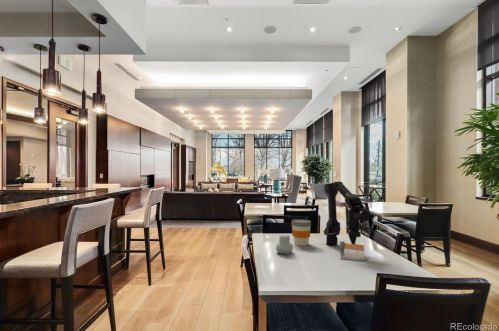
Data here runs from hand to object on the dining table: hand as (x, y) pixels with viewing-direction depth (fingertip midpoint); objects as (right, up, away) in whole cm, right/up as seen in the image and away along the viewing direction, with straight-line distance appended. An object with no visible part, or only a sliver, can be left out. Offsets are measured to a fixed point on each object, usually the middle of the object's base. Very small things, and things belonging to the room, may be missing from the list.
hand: (353, 246), depth 161 cm
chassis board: (-1, -5, 0) cm, 5 cm away
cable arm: (-2, -1, -1) cm, 3 cm away
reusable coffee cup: (-25, -6, +23) cm, 35 cm away
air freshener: (-39, -5, +2) cm, 39 cm away
